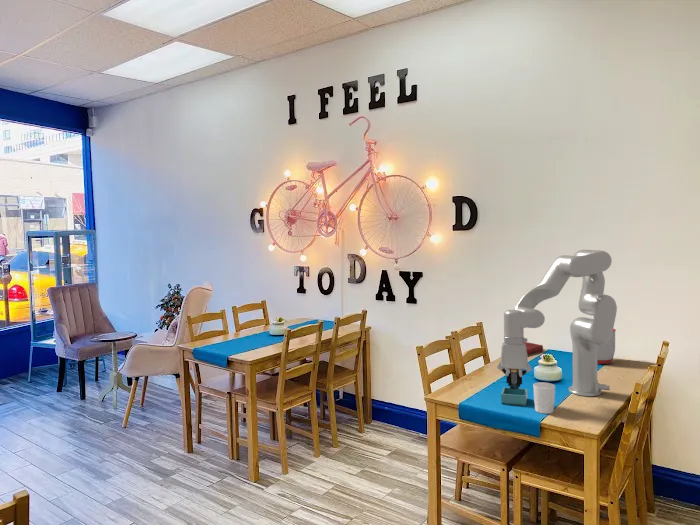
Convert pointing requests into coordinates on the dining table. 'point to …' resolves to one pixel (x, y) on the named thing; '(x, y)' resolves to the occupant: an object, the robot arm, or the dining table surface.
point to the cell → (514, 378)
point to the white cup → (544, 397)
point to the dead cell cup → (514, 396)
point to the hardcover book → (533, 348)
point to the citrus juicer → (606, 350)
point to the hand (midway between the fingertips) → (514, 385)
